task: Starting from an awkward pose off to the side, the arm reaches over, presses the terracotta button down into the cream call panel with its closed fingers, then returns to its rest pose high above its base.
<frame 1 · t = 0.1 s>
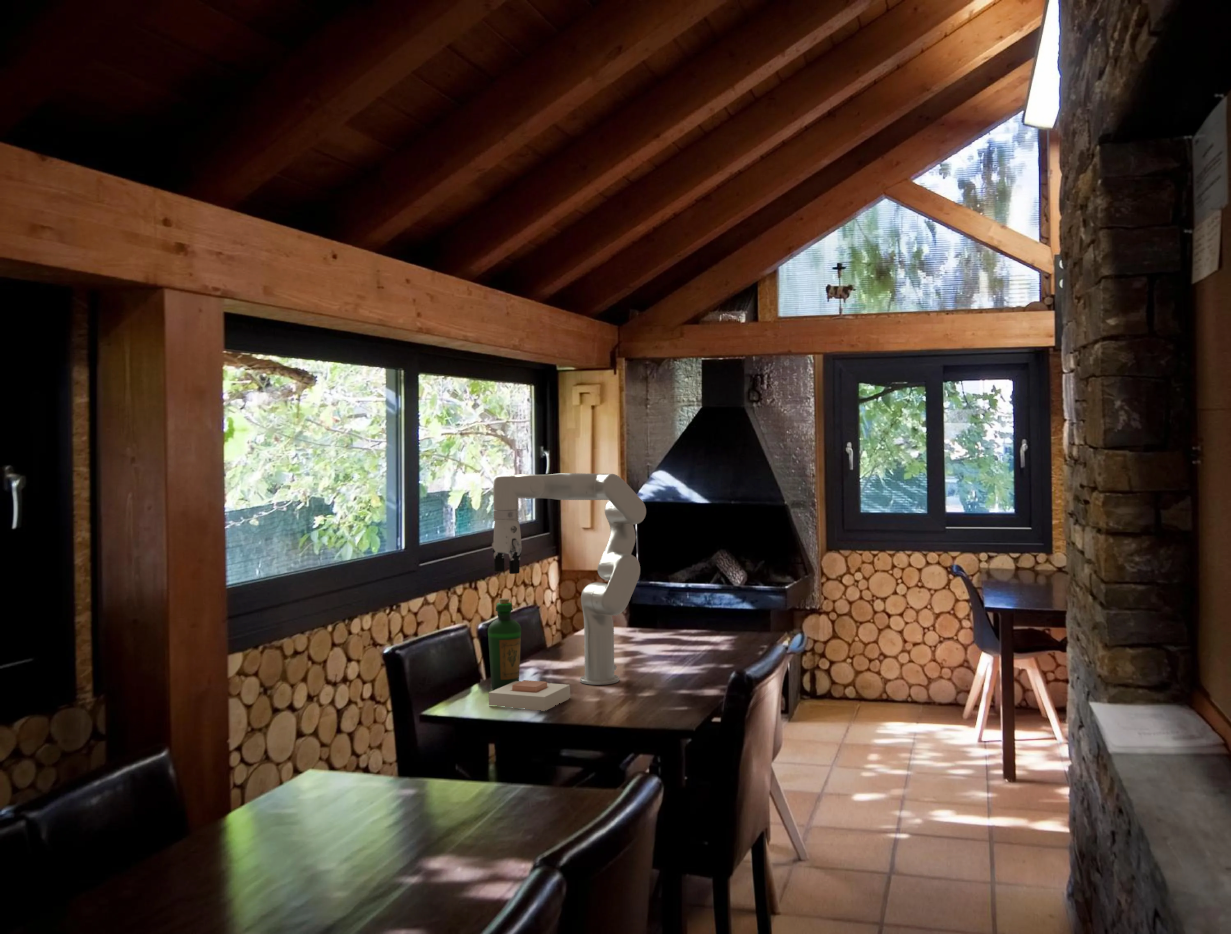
hand: (506, 572, 310), 37 cm above the table, tool pointing down, fingers open, 9 cm apart
bottle: (505, 689, 319), on the table
call panel: (530, 702, 300), on the table
button: (529, 690, 300), point 4 cm above the table, slide at 0.0 cm
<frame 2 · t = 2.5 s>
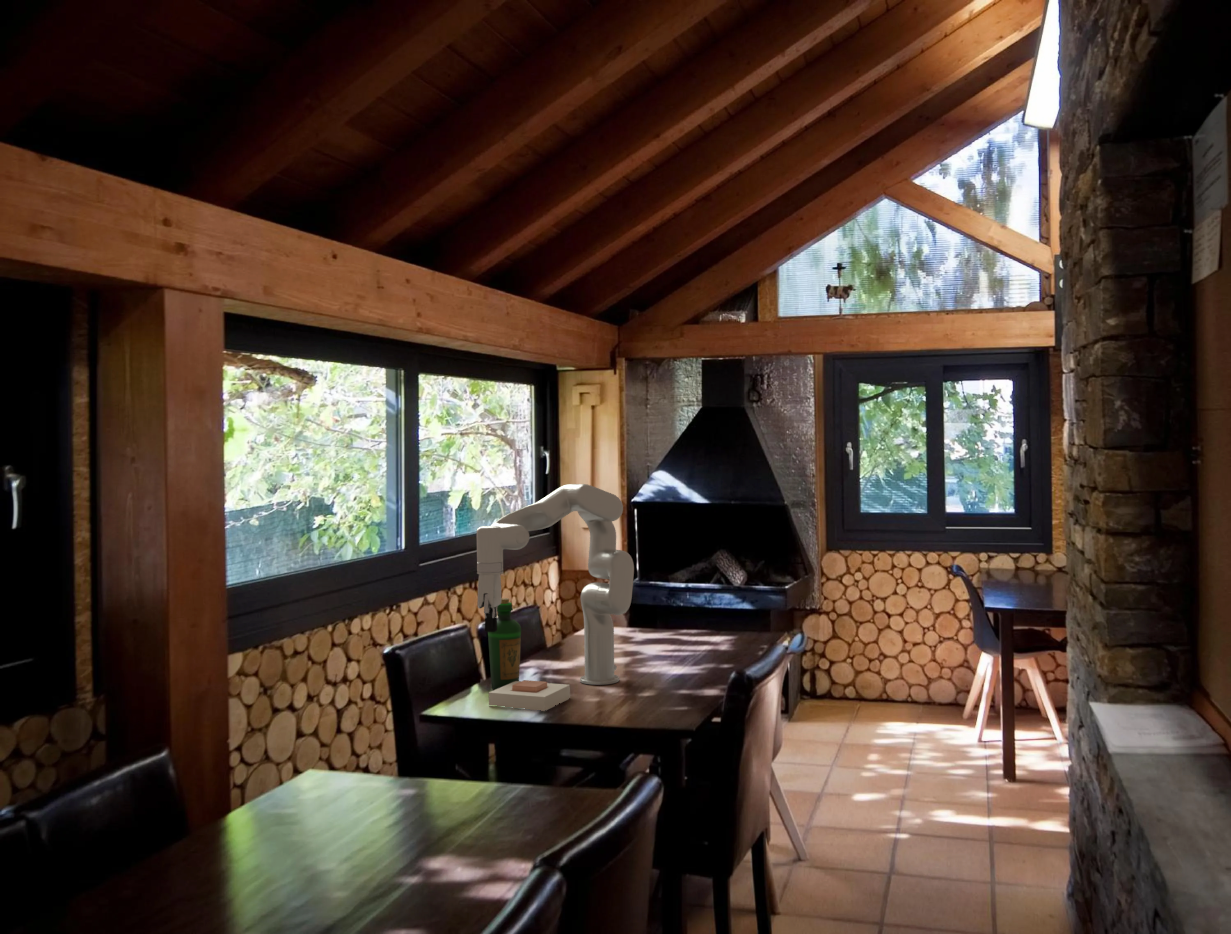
hand: (491, 631, 297), 21 cm above the table, tool pointing down, fingers closed
nothing on the table moved.
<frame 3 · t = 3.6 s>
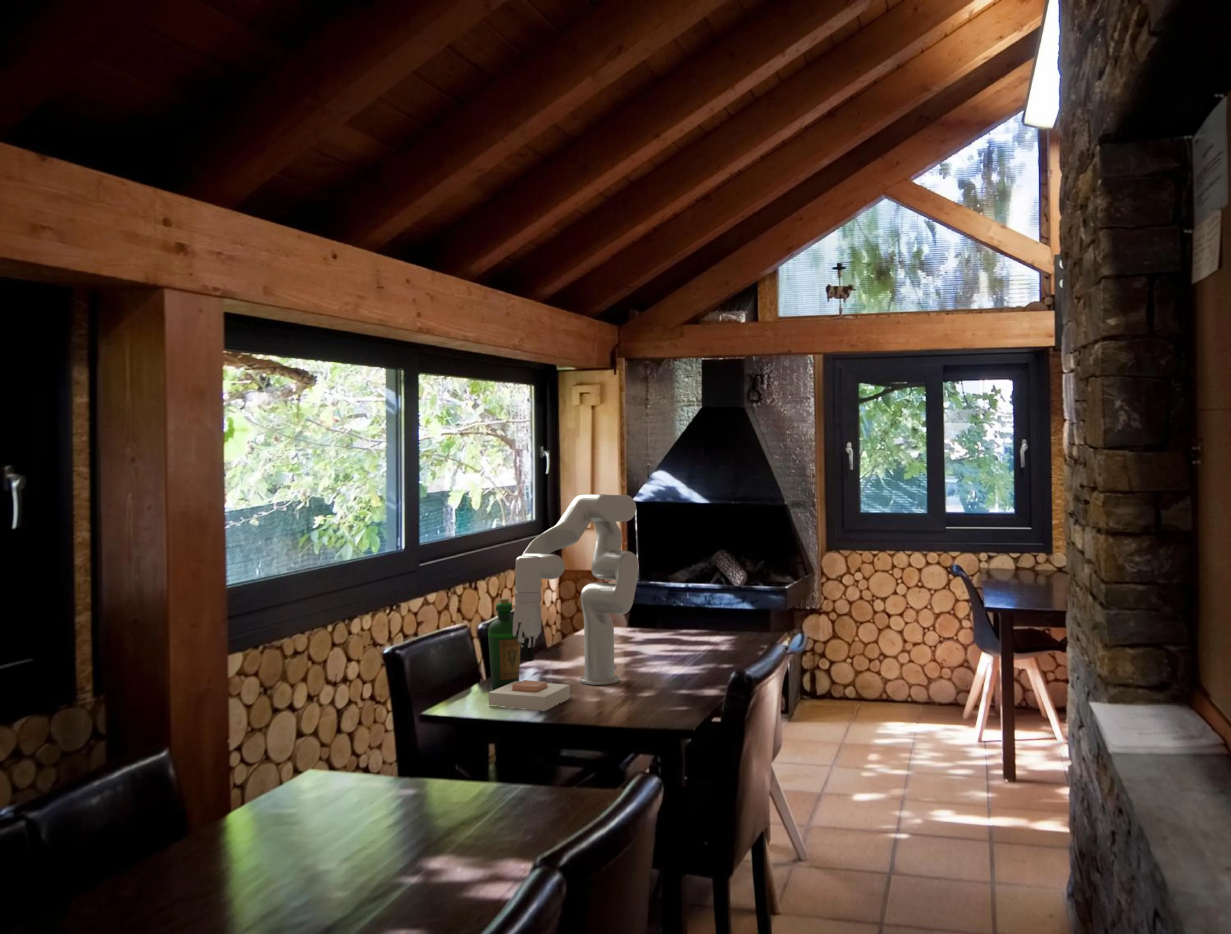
hand: (528, 660, 299), 12 cm above the table, tool pointing down, fingers closed
nothing on the table moved.
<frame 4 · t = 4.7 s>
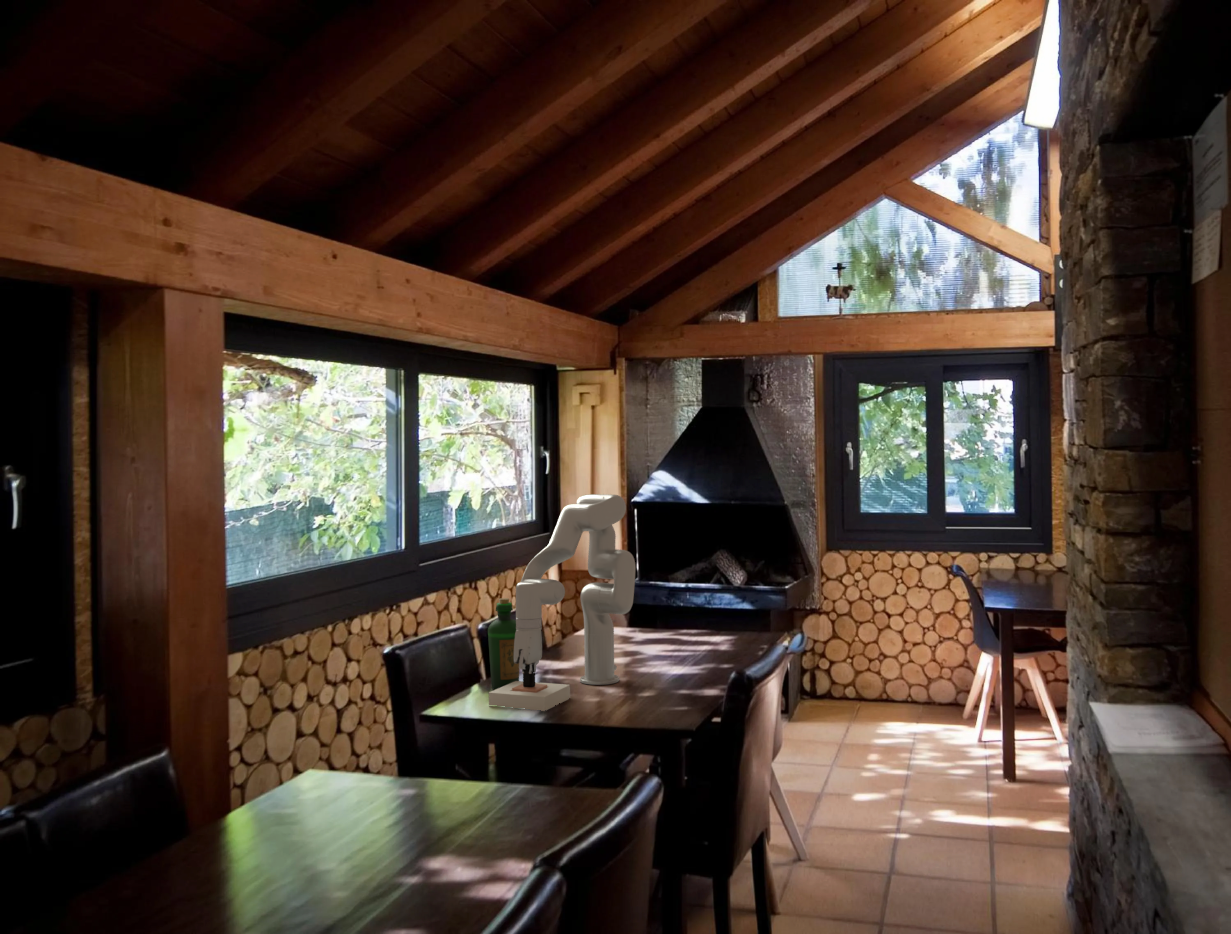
hand: (529, 686, 300), 5 cm above the table, tool pointing down, fingers closed
button: (529, 693, 300), point 3 cm above the table, slide at 0.9 cm, touching gripper
everything else where it was.
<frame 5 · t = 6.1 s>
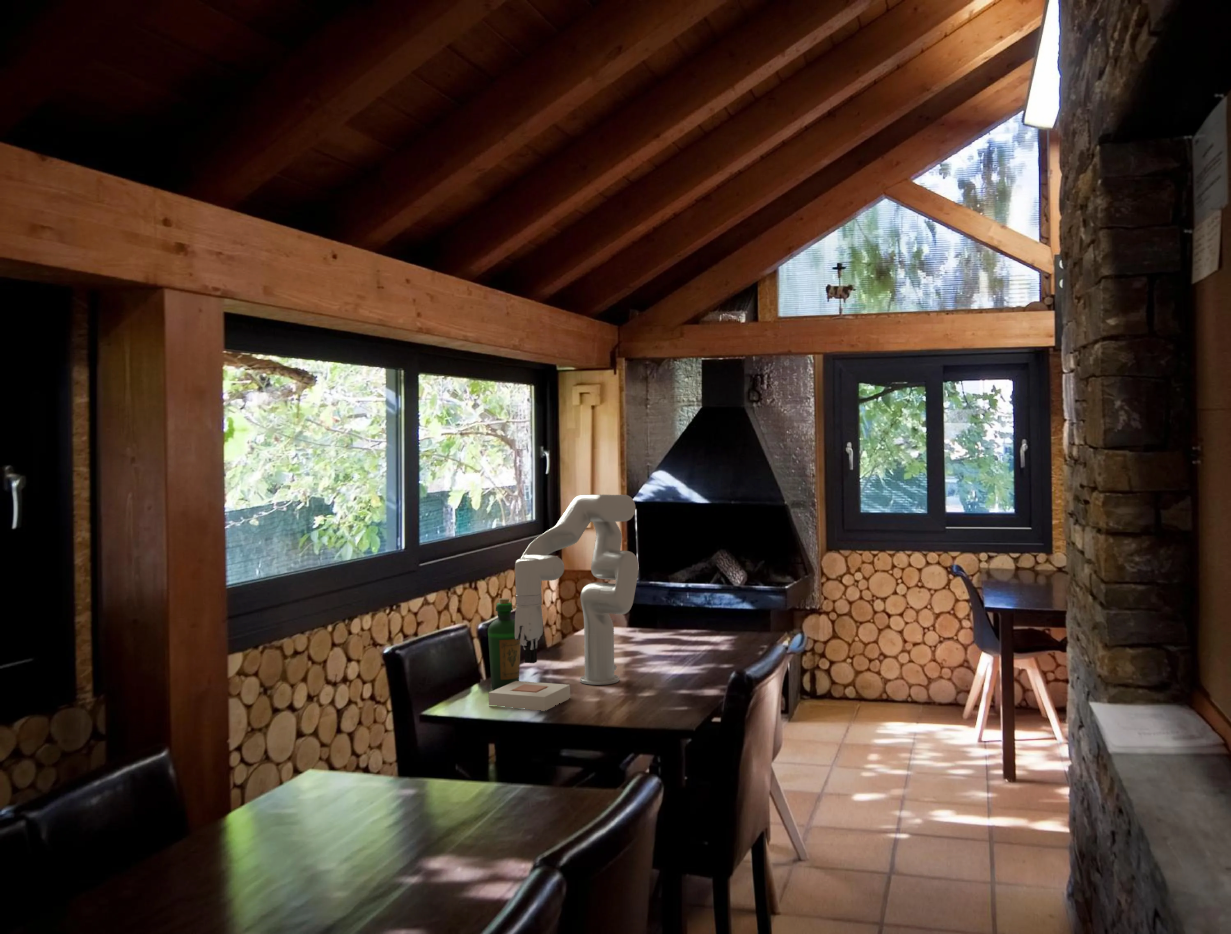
hand: (530, 662, 300), 12 cm above the table, tool pointing down, fingers closed
button: (529, 694, 300), point 2 cm above the table, slide at 1.3 cm
everything else where it was.
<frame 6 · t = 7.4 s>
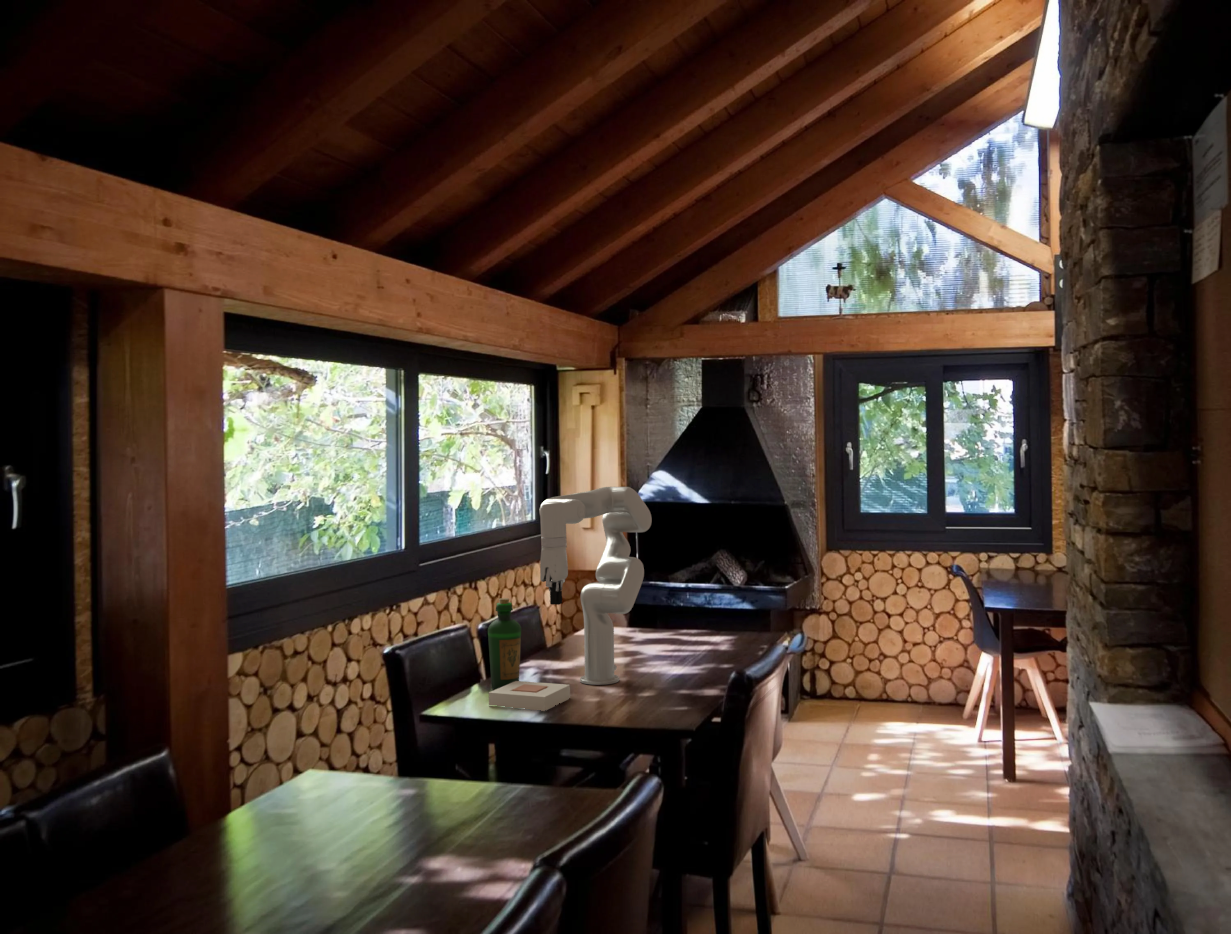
hand: (556, 603, 305), 28 cm above the table, tool pointing down, fingers closed
nothing on the table moved.
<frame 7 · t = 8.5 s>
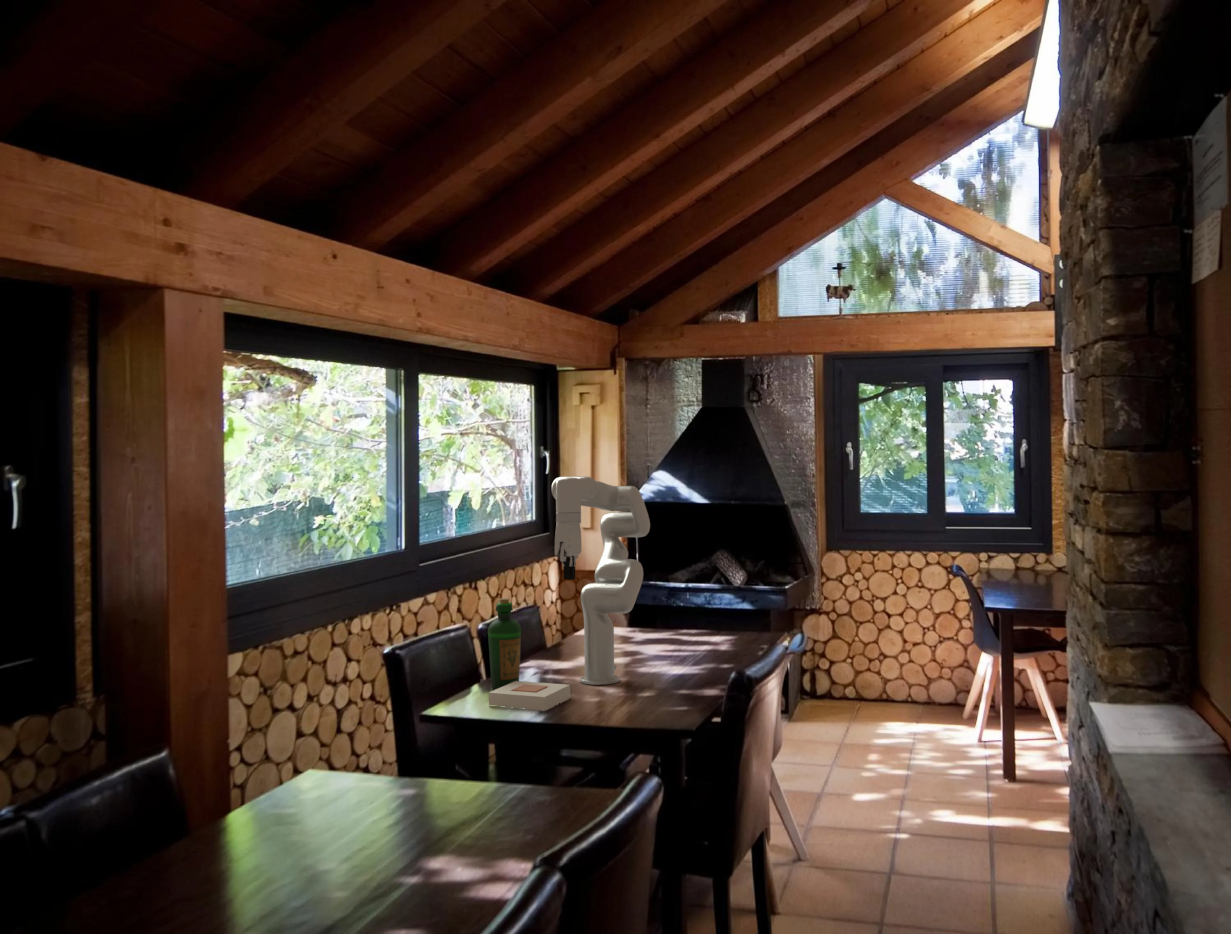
hand: (569, 579, 308), 35 cm above the table, tool pointing down, fingers closed
nothing on the table moved.
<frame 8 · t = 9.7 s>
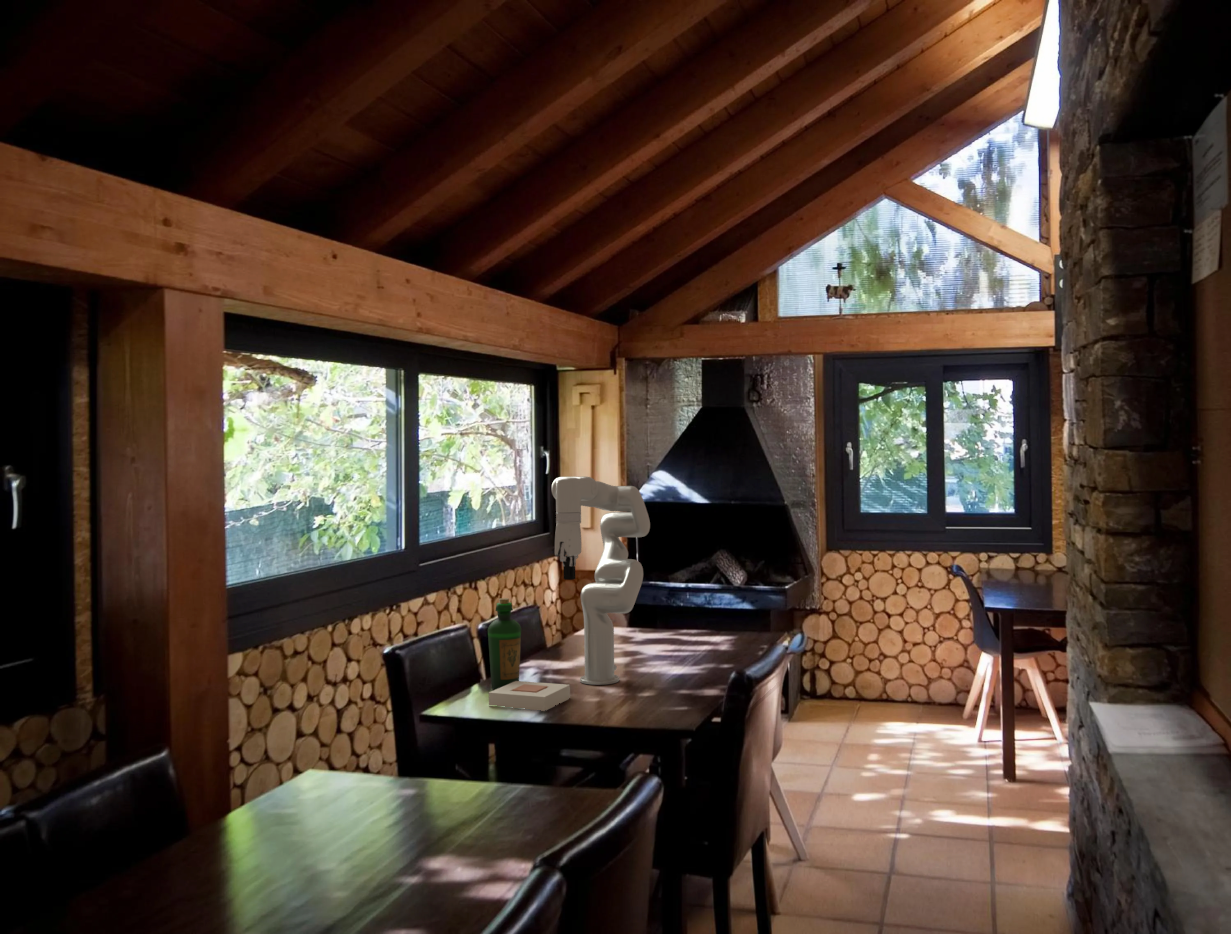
hand: (569, 579, 308), 35 cm above the table, tool pointing down, fingers closed
nothing on the table moved.
at the end: button slide at 1.3 cm; bottle moved 0.2 cm from its start; bottle tilted 0° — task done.
